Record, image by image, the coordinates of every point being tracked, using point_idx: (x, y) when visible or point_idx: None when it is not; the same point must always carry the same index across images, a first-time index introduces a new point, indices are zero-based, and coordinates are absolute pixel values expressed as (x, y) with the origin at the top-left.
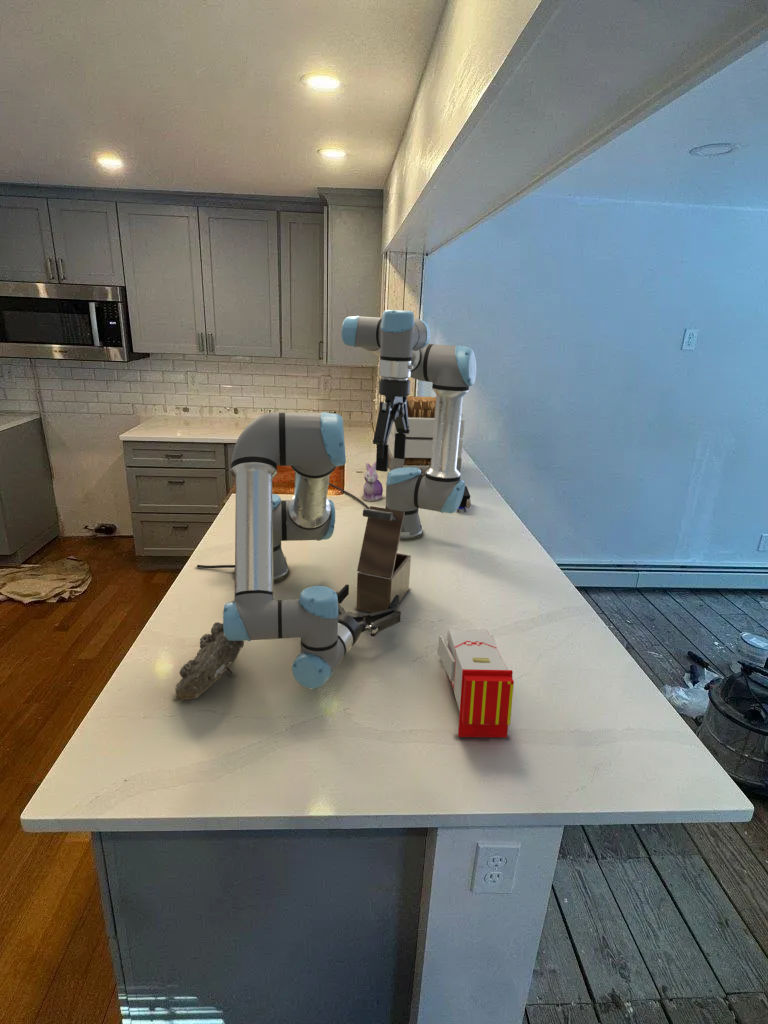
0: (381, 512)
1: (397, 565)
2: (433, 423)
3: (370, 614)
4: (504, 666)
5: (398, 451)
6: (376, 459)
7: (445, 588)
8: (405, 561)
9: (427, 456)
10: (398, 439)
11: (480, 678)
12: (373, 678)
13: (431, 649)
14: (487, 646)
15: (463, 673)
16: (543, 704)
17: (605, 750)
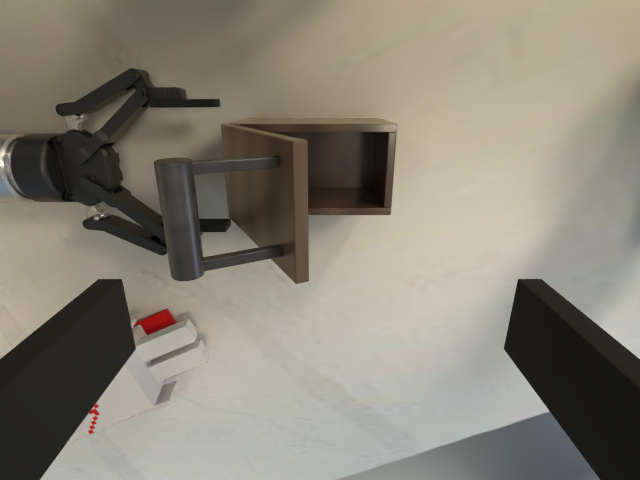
0: (170, 242)
1: (380, 176)
2: None
3: (121, 204)
4: None
5: (542, 344)
6: (42, 328)
7: (407, 258)
8: (348, 213)
9: None
10: (629, 430)
11: None
12: (66, 230)
13: (187, 286)
14: (88, 421)
15: None
16: (147, 425)
17: (109, 475)
